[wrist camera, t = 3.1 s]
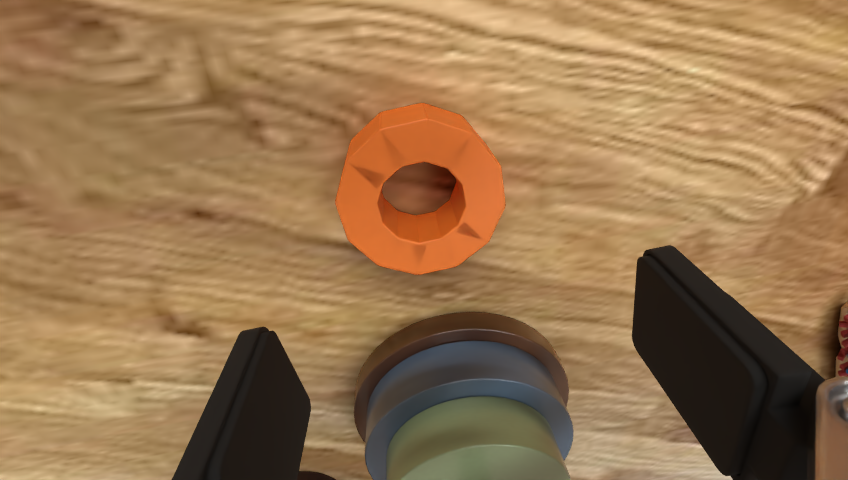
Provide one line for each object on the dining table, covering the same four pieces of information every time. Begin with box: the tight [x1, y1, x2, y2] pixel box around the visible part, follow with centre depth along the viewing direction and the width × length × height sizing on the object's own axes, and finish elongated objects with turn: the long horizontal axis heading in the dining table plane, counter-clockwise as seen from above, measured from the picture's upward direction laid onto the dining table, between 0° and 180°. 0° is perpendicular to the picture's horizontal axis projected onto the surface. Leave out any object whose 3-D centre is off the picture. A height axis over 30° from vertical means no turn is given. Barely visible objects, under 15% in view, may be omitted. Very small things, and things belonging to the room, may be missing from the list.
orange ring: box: [335, 103, 506, 275], centre depth 19 cm, size 7×7×3 cm
